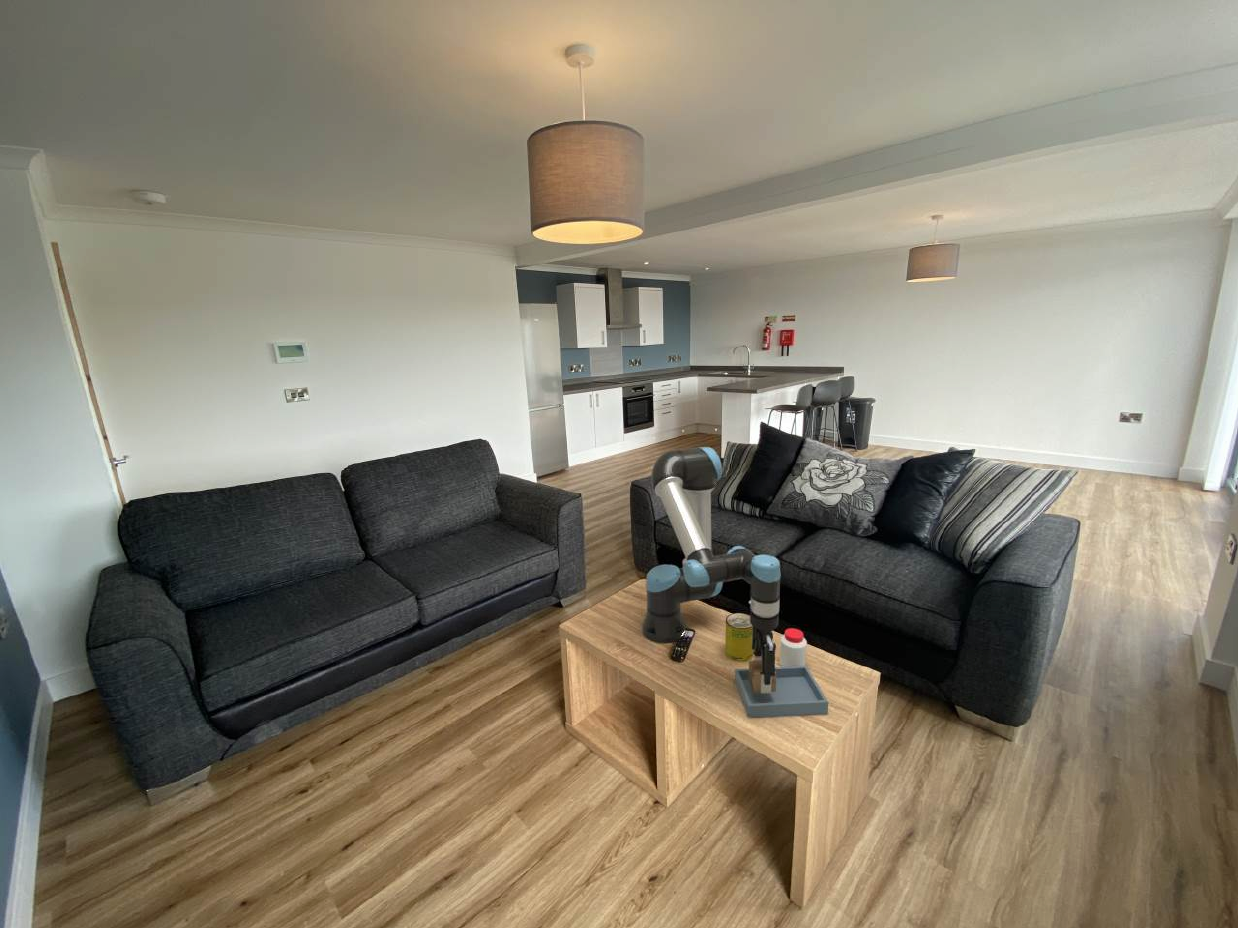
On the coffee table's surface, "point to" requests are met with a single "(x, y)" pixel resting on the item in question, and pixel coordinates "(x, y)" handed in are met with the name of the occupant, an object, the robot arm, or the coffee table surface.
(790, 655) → the pill bottle
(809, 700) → the blue-grey tray
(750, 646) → the beverage can
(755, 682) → the walnut cube
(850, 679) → the coffee table surface
